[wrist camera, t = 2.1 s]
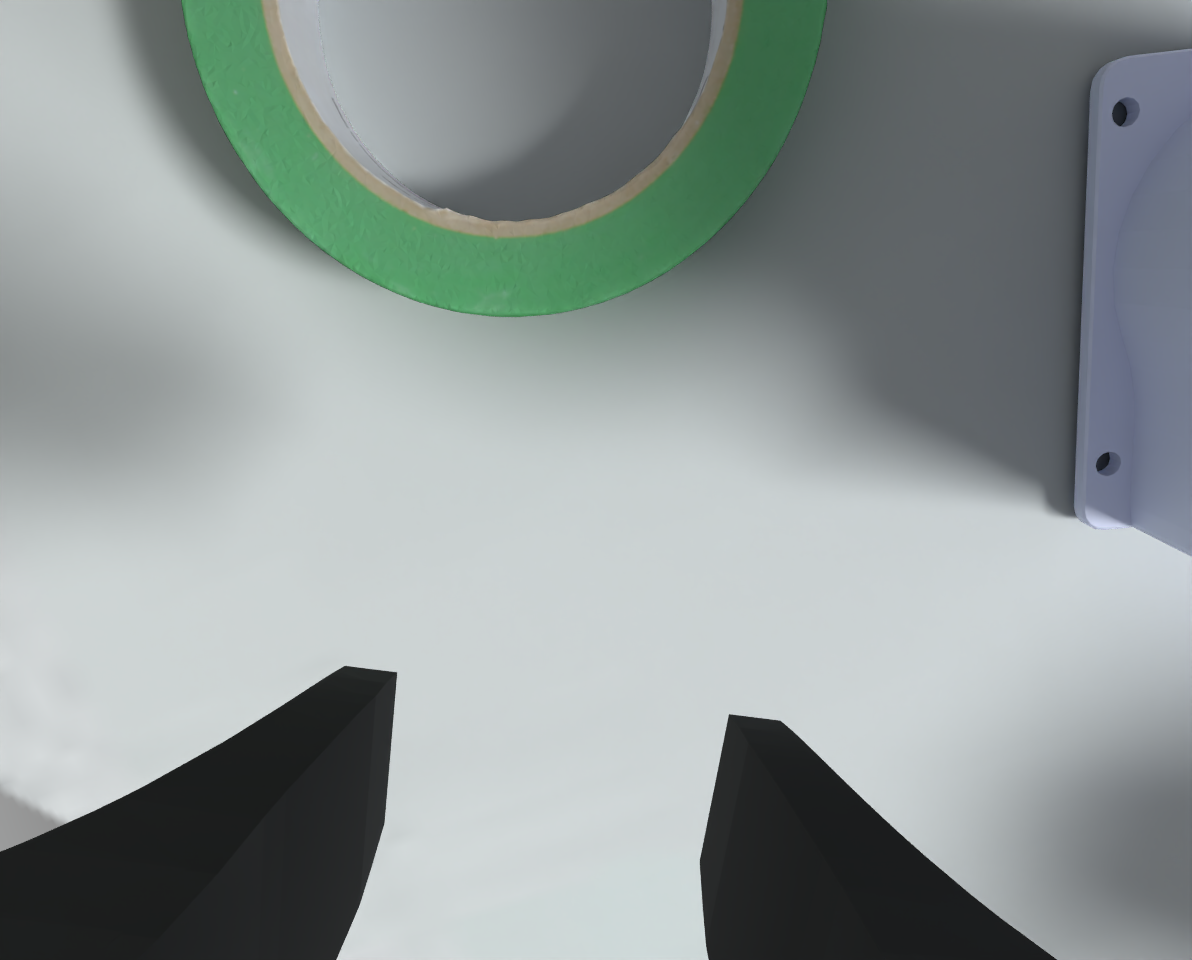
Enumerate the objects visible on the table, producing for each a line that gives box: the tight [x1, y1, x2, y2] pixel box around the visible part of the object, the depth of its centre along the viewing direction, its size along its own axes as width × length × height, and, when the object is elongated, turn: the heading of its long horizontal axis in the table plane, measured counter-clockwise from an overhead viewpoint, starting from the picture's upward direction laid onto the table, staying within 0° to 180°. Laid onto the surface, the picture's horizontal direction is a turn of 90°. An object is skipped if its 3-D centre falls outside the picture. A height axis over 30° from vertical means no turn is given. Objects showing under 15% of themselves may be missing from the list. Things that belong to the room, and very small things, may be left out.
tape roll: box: [181, 0, 827, 317], centre depth 15 cm, size 11×11×3 cm
